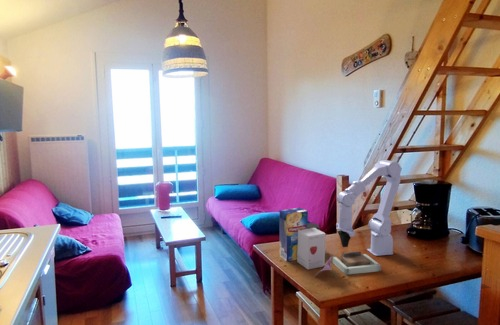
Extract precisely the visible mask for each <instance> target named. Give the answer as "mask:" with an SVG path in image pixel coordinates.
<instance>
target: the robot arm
mask: <svg viewBox="0 0 500 325" xmlns="http://www.w3.org/2000/svg"><path fill="white" fill-rule="evenodd" d="M401 172H402V167H401V165H400V163H399V161H398V162H397V161H392V160H388V159H384V158H382V159H380V160H378V161H377V162H376V163H375V164H374V166H373V167H372V168H371V170H369V172H367V173H366V174H365V175H364V176H363V177H362V178H361V179H360V180H354V181H352V184H351V185H349V187H347V188H345V189H344V191H340V192H339V193H337V194H338V195H337V197H336V201H337V202H338V222H336V224H335V226H336V230H337V233H338V236H339V239H340V243H341V246H342V248H348V246H349V243H350V241H351V238H352V237H355V236H356V235H355V234H356V232H355V231H354V229H353V224H352V223H353V205H354V204H355V201H356V199H357V198H358V197H359V196H360V195H361V194H363V193H364V192H365V191H366V189H367V188H366V187H367V186H368V185H370V184H371V183H372V182H373V181H375V180H376V179H377V178H378V177H382V176H384V178H385V180H386V184H385V187H384V190H383V194H382V197H381V199H380V202H379V206H378V209H377V212H376V213H374V214H372V218H371V219H369V221H368V228H369V230H370V248H366V250H367V251H368V252H369V253H370V254H372V255H374V256H375V257H376V256H377V257H378V256H379V257H381V256H387V255H389V256H390V255H394V252H393V251H394V250H393V249H394V239H393V236H392V234H391V232H392V220H391V218H390V214H391V212H392V208H393V205H394V202H395V198H396V195H397V192H398V190H399V187H400V184H401V180H402V179H401Z"/></svg>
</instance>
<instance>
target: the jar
mask: <svg viewBox="0 0 500 325" xmlns="http://www.w3.org/2000/svg"><path fill="white" fill-rule="evenodd" d="M310 228H316V229H318V230H320V225H319V224H318V223H314V222H308V229H310Z"/></svg>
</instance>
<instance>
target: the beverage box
mask: <svg viewBox="0 0 500 325" xmlns="http://www.w3.org/2000/svg"><path fill="white" fill-rule="evenodd" d="M308 218H309V211H308V210H307V209H304V208H301V207H294V208H286V209H281V210H280V209H279V243H278V244H279V245H278V246H279V258H282V260H284V261H285V262H287V263H288V262H291V261H297V250H298V230H303V229H308V223H309V219H308Z"/></svg>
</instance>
